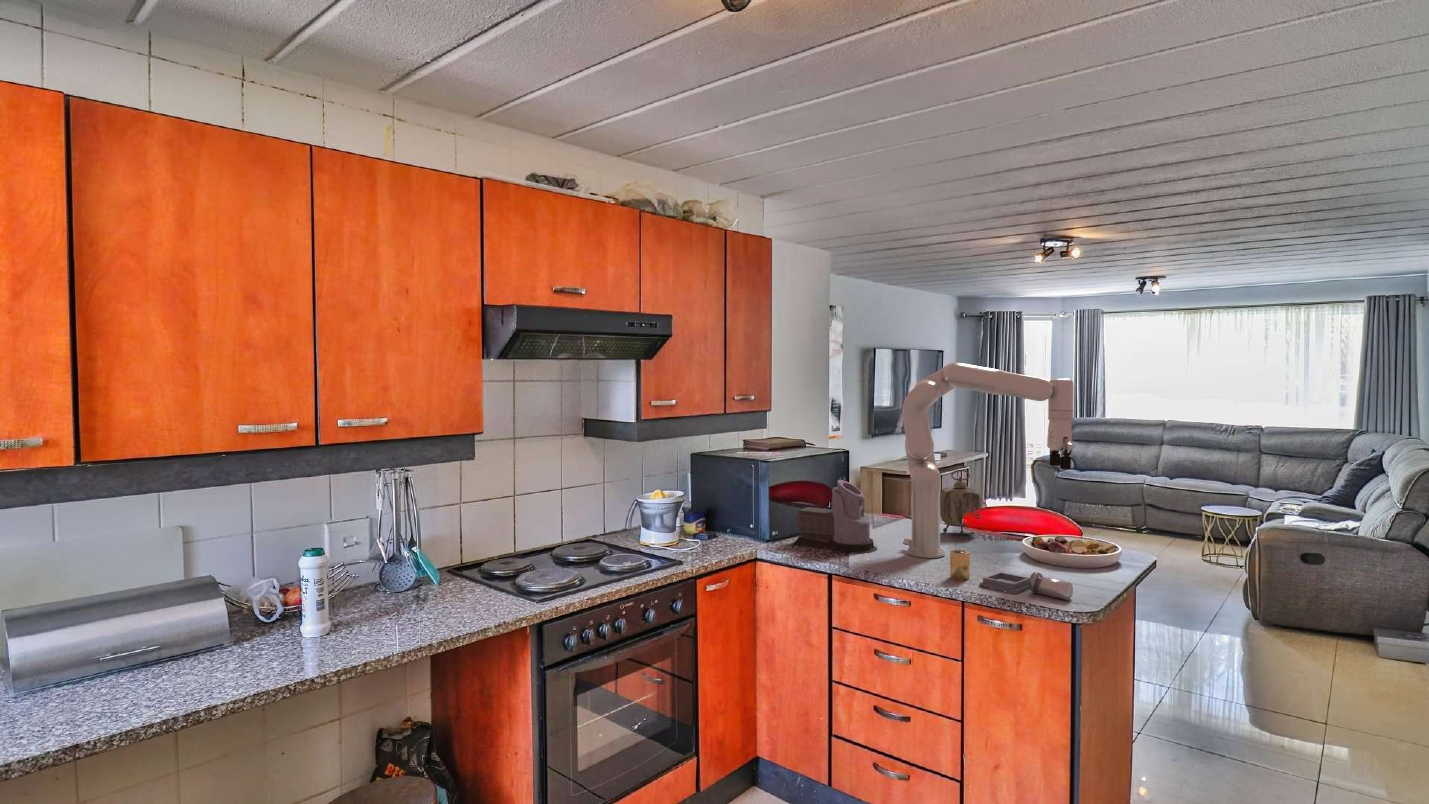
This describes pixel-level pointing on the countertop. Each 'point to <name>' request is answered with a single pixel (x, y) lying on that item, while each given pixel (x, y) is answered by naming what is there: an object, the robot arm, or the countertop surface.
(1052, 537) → the bowl
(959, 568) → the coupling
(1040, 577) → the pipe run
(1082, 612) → the countertop surface
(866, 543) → the juicer
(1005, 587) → the grey square tray
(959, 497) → the tabletop clock
